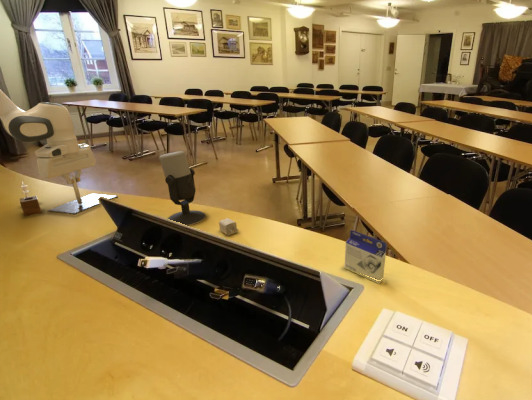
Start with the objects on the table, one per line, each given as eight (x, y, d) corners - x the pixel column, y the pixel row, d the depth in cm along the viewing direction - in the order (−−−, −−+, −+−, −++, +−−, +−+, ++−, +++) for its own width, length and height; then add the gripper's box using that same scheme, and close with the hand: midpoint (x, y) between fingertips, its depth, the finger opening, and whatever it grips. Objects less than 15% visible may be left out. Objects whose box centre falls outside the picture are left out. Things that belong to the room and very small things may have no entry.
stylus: (77, 204, 127) (69, 175, 122) (80, 203, 128) (72, 174, 124) (80, 205, 127) (72, 176, 122) (83, 203, 128) (75, 175, 123)
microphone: (184, 209, 126) (175, 147, 117) (212, 214, 122) (205, 149, 113) (159, 223, 115) (147, 154, 106) (189, 228, 111) (179, 158, 102)
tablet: (47, 212, 122) (46, 210, 121) (92, 195, 140) (92, 193, 139) (75, 216, 119) (75, 213, 119) (117, 197, 137) (117, 195, 137)
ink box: (343, 268, 89) (345, 231, 85) (348, 265, 91) (350, 228, 87) (379, 285, 82) (383, 246, 78) (384, 281, 84) (388, 242, 80)
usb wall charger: (230, 228, 112) (229, 217, 110) (241, 234, 107) (240, 224, 106) (220, 231, 109) (218, 220, 108) (230, 238, 105) (229, 227, 103)
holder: (24, 213, 121) (19, 198, 118) (41, 210, 124) (36, 195, 121) (25, 217, 117) (19, 202, 115) (42, 214, 120) (37, 199, 118)
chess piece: (22, 208, 125) (13, 184, 121) (22, 204, 128) (13, 181, 125) (38, 205, 128) (30, 181, 124) (38, 201, 131) (30, 178, 128)
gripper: (82, 141, 129) (90, 174, 134) (29, 152, 110) (41, 190, 115) (95, 142, 128) (103, 175, 133) (44, 154, 109) (55, 192, 114)
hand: (74, 182), depth 124 cm, fingers closed on stylus, 1 cm apart
